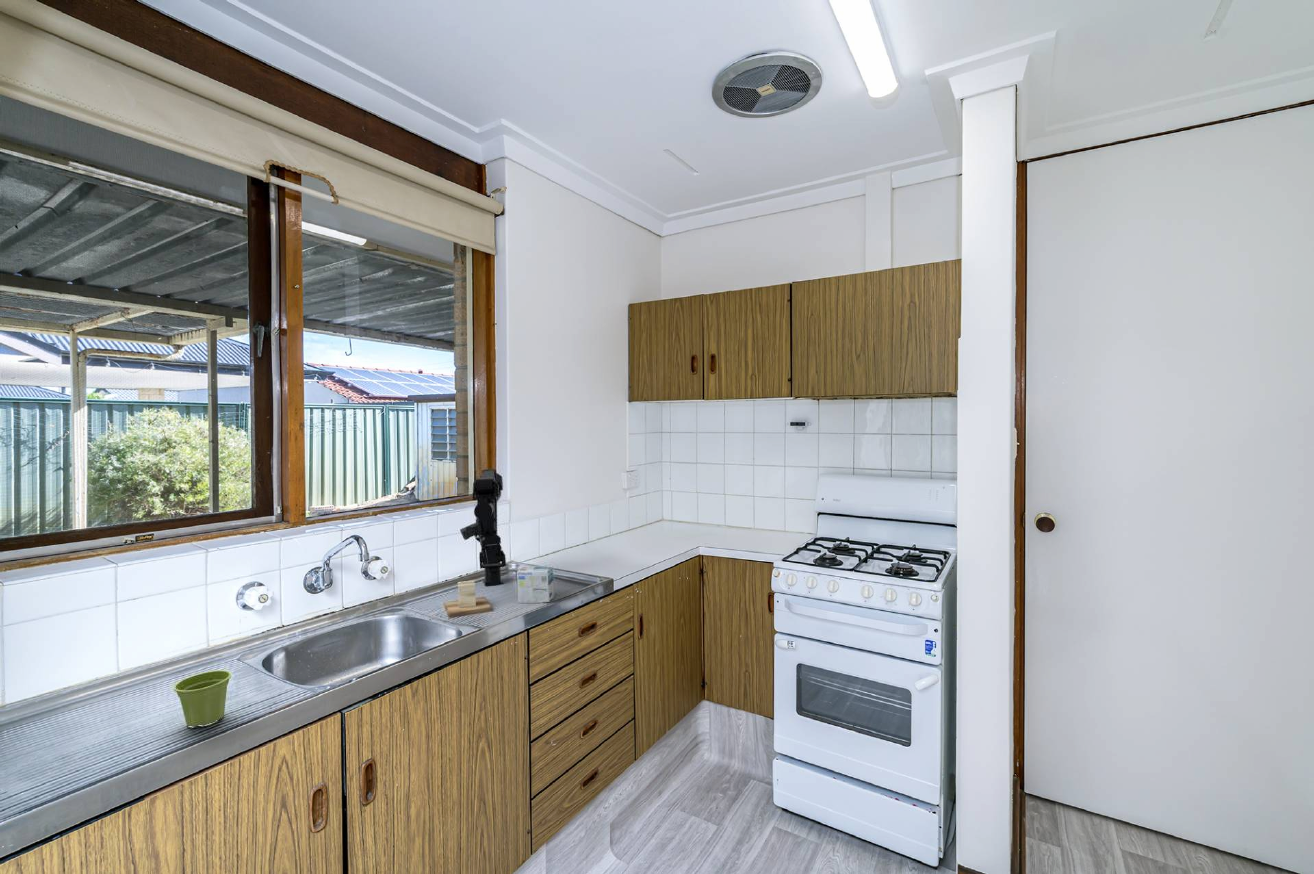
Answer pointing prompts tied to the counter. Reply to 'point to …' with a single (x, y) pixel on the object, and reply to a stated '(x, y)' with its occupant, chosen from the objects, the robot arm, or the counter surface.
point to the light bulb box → (535, 584)
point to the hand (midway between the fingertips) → (487, 560)
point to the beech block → (466, 594)
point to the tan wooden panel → (467, 608)
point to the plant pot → (203, 696)
